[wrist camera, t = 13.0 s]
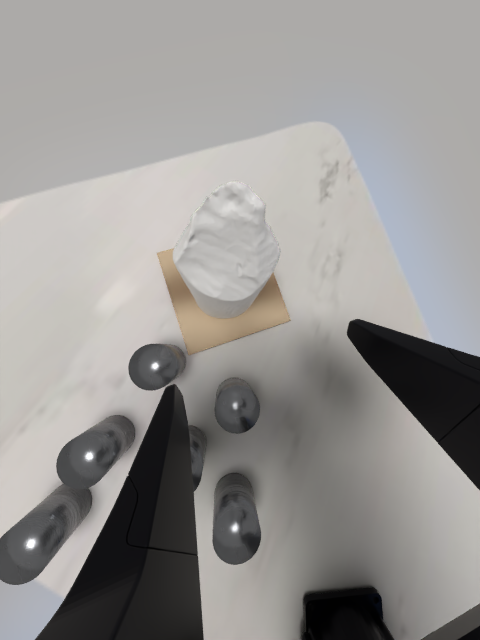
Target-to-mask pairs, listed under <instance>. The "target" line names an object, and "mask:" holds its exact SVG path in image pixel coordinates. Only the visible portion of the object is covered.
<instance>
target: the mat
mask: <svg viewBox="0 0 480 640" xmlns="http://www.w3.org/2000/svg"><path fill="white" fill-rule="evenodd" d="M173 250H174V249H170V250H166V251H162V252H159V253H157V255H158V259H159V262H160V265H161V268H162V271H163V275H164V278H165V281H166V284H167V287H168V291H169V294H170V297H171V300H172V303H173V307H174V310H175V313H176V316H177V319H178V323H179V326H180V329H181V332H182V335H183V339H184V342H185V345H186V348H187V351H188V355H191V354H194V353H197V352H200V351H203V350H206V349H208V348H211V347H214V346H217V345H220V344H223V343H226V342H229V341H232V340H235V339H238V338H241V337H244V336H247V335H250V334H253V333H255V332H258V331H261V330H264V329H267V328H270V327H273V326H276V325H279V324H282V323H285V322H288V321H291V320H290V317H289V314H288V312H287V309H286V306H285V303H284V301H283V298H282V295H281V292H280V290H279V287H278V284H277V281H276V279H275V276H274V273H272V274H271V276H270V278H269V280H268V281H267V283H266V285H265V286H264V287H263V289H262V290H261V291H260V293H259V294H258V296H257V297H256V299H255V300H254V302H253V303H252V305H251V306H250V307H249V308H248V309H247V310H246V311H245V312H244V313H243V314H241V315H239V316H237V317H234V318H224V319H221V318H215V317H212V316H209V315H207V314H205V313H204V312H203V311H202V310H201V309H200V308H199V306H198V305H197V303H196V301H195V299H194V297H193V295H192V293H191V292H190V290H189V288H188V287H187V285H186V284H185V282H184V280H183V278H182V277H181V275H180V273H179V272H178V270H177V268H176V266H175V264H174V262H173Z"/></svg>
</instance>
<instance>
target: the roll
mask: <svg viewBox="0 0 480 640" xmlns="http://www.w3.org/2000/svg"><path fill="white" fill-rule="evenodd" d="M265 208H266V206H265V203H264V202H263V200H262V199H261V198H260V197H259V196H258V195H257V194H255V192H254V191H253V189H252V188H251V187H250V186H249V185H246V184H243V183H241V182H238V181H232V182H228V183H226V184H223V185H220V186H219V187H217V188H216V189H215V190H214V191H213V192H212V194H211V196H210V197H206V198H205V199H204V201H203V203H202V205H201V206H200V207H198V208H197V209H196V210H195V212H194V213H193V214H192V215H191V218H190V223H189V224H188V226H187V227H186V228H185V230H184V232H183V234H182V235H181V237H180V239H179V240H178V242H177V245H176V246H175V248H174V250H173V262H174V264H175V266H176V268H177V270H178V272H179V273H180V275H181V277H182V278H183V280H184V282H185V284H186V285H187V287H188V288H189V290H190V292H191V293H192V295H193V297H194V299H195V301H196V303H197V305H198V306H199V308H200V309H201V310H202V311H203V312H204V313H205V314H207V315H209V316H212V317H215V318H221V319H224V318H234V317H237V316H239V315H241V314H243V313H244V312H245V311H246V310H247V309H248V308H249V307H250V306H251V305H252V303H253V302H254V300H255V299H256V297H257V296H258V294H259V293H260V291H261V290H262V289H263V287H264V286H265V285H266V283H267V281H268V280H269V278H270V276H271V274H272V273H273V271H274V268H275V266H276V264H277V262H278V260H279V256H280V248H279V245H278V242H277V239H276V237H275V236H274V234H273V232H272V230H271V227H270V225H269V224H268V223H266V222H265Z"/></svg>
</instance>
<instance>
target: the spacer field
mask: <svg viewBox="0 0 480 640" xmlns="http://www.w3.org/2000/svg"><path fill="white" fill-rule="evenodd" d="M185 363H186V360H185V356H184V353H183V352H182V351H181V349H179V348H178V347H177V346H174V345H170V344H148V345H145V346H143V347H141V348H139V349H138V350H137V351H136V352H135V353H134V354H133V356H132V357H131V359H130V362H129V375H130V378H131V380H132V381H133V382H134V384H135V385H136V386H138V387H139V388H141V389H144V390H157V389H160V388H162V387H164V386H166V385H167V384H168V383H170V382H171V381H173V380H174V379H176V378H177V377H178V376H179V375H180V374H181V373H182V372H183V370H184V368H185ZM259 413H260V405H259V401H258V399H257V397H256V395H255V394H254V393H253V391H252V390H251V388H250V387H249V385H248V384H247V383H246V382H245V381H244V380H242V379H239V378H229V379H227V380H225V381H224V382H222V383H221V385H220V386H219V388H218V390H217V394H216V403H215V416H216V419H217V422H218V423H219V425H220V426H221V427H222V428H223V429H224V430H226V431H228V432H230V433H243V432H246V431H248V430H249V429H251V428H252V427H253V426H254V425H255V423H256V422H257V420H258V417H259ZM188 427H189V435H190V449H191V464H192V479H193V492H194V491H195V490H196V489H197V487H198V485H199V483H200V480H201V476H202V469H203V463H204V456H205V450H206V439H205V436H204V434H203V433H202V431H201V430H200V429H198V428H197V427H194V426H188ZM134 437H135V429H134V426H133V424H132V423H131V421H130V420H129V419H127V418H126V417H124V416H120V415H115V416H110V417H108V418H106V419H104V420H103V421H101V422H100V423H98V424H96V425H95V426H93V427H92V428H90V429H88V430H87V431H85V432H84V433H82V434H80V435H79V436H77V437H76V438H74V439H72V440H71V441H69V442H68V443H67V444H66V445H65V446H64V447H63V448H62V450H61V451H60V453H59V456H58V459H57V465H56V467H57V473H58V476H59V478H60V480H61V481H62V482H63V483H64V484H63V485H61V486H59V487H58V488H57V489H56V490H55V491H54V492H52V493H51V494H50V495H49V496H48V497H47V498H46V499H44V500H43V501H42V502H41V503H40V504H39V505H37V506H36V507H35V508H34V509H33V510H32V511H31V512H29V513H28V514H27V515H26V516H25V517H24V518H22V519H21V520H20V521H19V522H18V523H17V524H15V525H14V526H13V527H12V528H11V529H10V530H9V531H7V532H6V533H5V534H4V535H3V536H2V537H1V538H0V580H2V581H3V582H5V583H8V584H12V585H19V584H24V583H27V582H29V581H31V580H33V579H34V578H36V577H37V576H38V575H39V574H40V573H41V572H42V571H43V570H44V568H45V567H46V566H47V565H48V563H49V562H50V561H51V559H52V558H53V557H54V556H55V554H56V553H57V552H58V551H59V549H60V548H61V547H62V546H63V544H64V543H65V542H66V541H67V539H68V538H69V537H70V536H71V534H72V533H73V532H74V531H75V529H76V528H77V527H78V526H79V524H80V523H81V522H82V521H83V519H84V518H85V517H86V516H87V514H88V512H89V510H90V508H91V504H92V497H91V493H90V491H89V489H88V487H91V486H93V485H95V484H96V483H97V482H99V481H100V480H101V479H102V477H103V476H104V475H105V474H106V473H107V472H108V471H109V470H110V469H111V468H112V466H113V465H114V464H115V463H116V462H117V461H118V460H119V459H120V458H121V457H122V455H123V454H124V453H125V452H126V451H127V450H128V449H129V448H130V446H131V445H132V443H133V441H134ZM260 540H261V530H260V525H259V520H258V515H257V511H256V506H255V501H254V497H253V492H252V487H251V484H250V482H249V481H248V479H247V478H246V477H245V476H243V475H241V474H238V473H231V474H228V475H226V476H224V477H223V478H222V479H221V480H220V481H219V482H218V484H217V486H216V489H215V497H214V519H213V546H214V550H215V552H216V554H217V555H218V557H219V558H220V559H221V560H223V561H224V562H226V563H228V564H233V565H237V564H242V563H244V562H246V561H248V560H249V559H250V558H252V557H253V555H254V554H255V553H256V551H257V550H258V547H259V545H260Z"/></svg>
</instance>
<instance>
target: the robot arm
mask: <svg viewBox="0 0 480 640" xmlns="http://www.w3.org/2000/svg"><path fill="white" fill-rule="evenodd" d="M347 336H348V338H349V339H350V341H351V342H352V343H353V345H354V346H355V347H356V349H357V350H358V352H359V353H360V354H361V356H362V357H363V359H364V360H365V361H366V362H367V363H368V365H369V366H370V367H371V368H372V369H373V370H374V371H375V373H376V374H377V375H378V376H379V377H380V378H381V379H382V380H383V382H384V383H385V384H386V385H387V386H388V387H389V388H390V390H391V391H392V392H393V393H394V394H395V395H396V396H397V397H398V399H399V400H400V401H401V402H402V403H403V404H404V405H405V406H406V408H407V409H408V410H409V411H410V412H411V413H412V414H413V415H414V417H415V418H416V419H417V420H418V421H419V422H420V423H421V425H422V426H423V427H424V428H425V429H426V430H427V431H428V432H429V434H430V435H431V436H432V437H433V438H434V439H435V440H436V441H437V442H438V444H439V445H440V446H441V447H442V448H443V450H444V451H445V452H446V453H447V454H448V455H449V456H450V457H451V459H452V460H453V461H454V462H455V463H456V464H457V465H458V466H459V468H460V469H461V470H462V471H463V472H464V473H465V474H466V475H467V477H468V478H469V479H470V480H471V481H472V482H473V483H474V485H475V486H476V487H477V488H478V489H479V490H480V357H478V356H474V355H470V354H467V353H464V352H461V351H458V350H455V349H451V348H448V347H447V348H446V347H445V346H442V345H439V344H435V343H432V342H429V341H426V340H423V339H420V338H417V337H414V336H410V335H407V334H404V333H401V332H398V331H395V330H392V329H388V328H385V327H382V326H379V325H376V324H373V323H370V322H366V321H363V320H360V319H355V320H353V321H350V322H349V326H348V330H347ZM128 475H129V476H127V478H126V480H125V482H124V485H123V487H122V489H121V491H120V494H119V496H118V498H117V500H116V502H115V504H114V507H113V509H112V511H111V513H110V515H109V517H108V519H107V521H106V523H105V525H104V527H103V529H102V530H101V532H100V534H99V536H98V538H97V540H96V542H95V544H94V546H93V548H92V550H91V552H90V553H89V555H88V557H87V559H86V561H85V563H84V565H83V567H82V569H81V571H80V573H79V574H78V576H77V578H76V580H75V582H74V584H73V586H72V587H71V589H70V591H69V593H68V594H67V596H66V598H65V599H64V601H63V602H62V604H61V605H60V607H59V609H58V610H57V611H56V613H55V614H54V616H53V617H52V619H51V620H50V621H49V623H48V624H47V625H46V626H45V628H44V629H43V630H42V632H41V633H40V634H39V635H38V636H37V638H36V639H35V640H204V638H203V623H202V609H201V594H200V580H199V565H198V556H197V555H198V552H197V537H196V522H195V508H194V493H193V479H192V464H191V449H190V435H189V427H188V421H187V416H186V410H185V405H184V400H183V396H182V393H181V392H180V390H179V389H178V387H177V385H175V384H173V385H170V386H167V387H166V388H165V390H164V393H163V395H162V397H161V400H160V402H159V404H158V407H157V409H156V411H155V413H154V416H153V418H152V420H151V423H150V425H149V427H148V430H147V432H146V434H145V436H144V439H143V441H142V443H141V446H140V448H139V450H138V453H137V455H136V457H135V459H134V462H133V464H132V466H131V469H130V471H129V473H128ZM310 604H311V605H310ZM303 605H304V632H303V633H302V636H301V640H394V638H393V637H392V635H391V633H390V631H389V630H388V628H387V626H386V625H385V623H384V621H383V611H382V599H381V596H380V595H379V593H378V591H377V590H376V589H375V588H363V589H354V590H345V591H335V592H326V593H317V594H309V595H306V596H305V598H304V601H303ZM421 640H480V604H478V605H477V606H475V607H473V608H472V609H470V610H469V611H467V612H465V613H464V614H462V615H460V616H459V617H457V618H455V619H454V620H452V621H450V622H449V623H447V624H446V625H444V626H442V627H441V628H439V629H437V630H436V631H434V632H432V633H431V634H429V635H428V636H426V637H424V638H423V639H421Z"/></svg>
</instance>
